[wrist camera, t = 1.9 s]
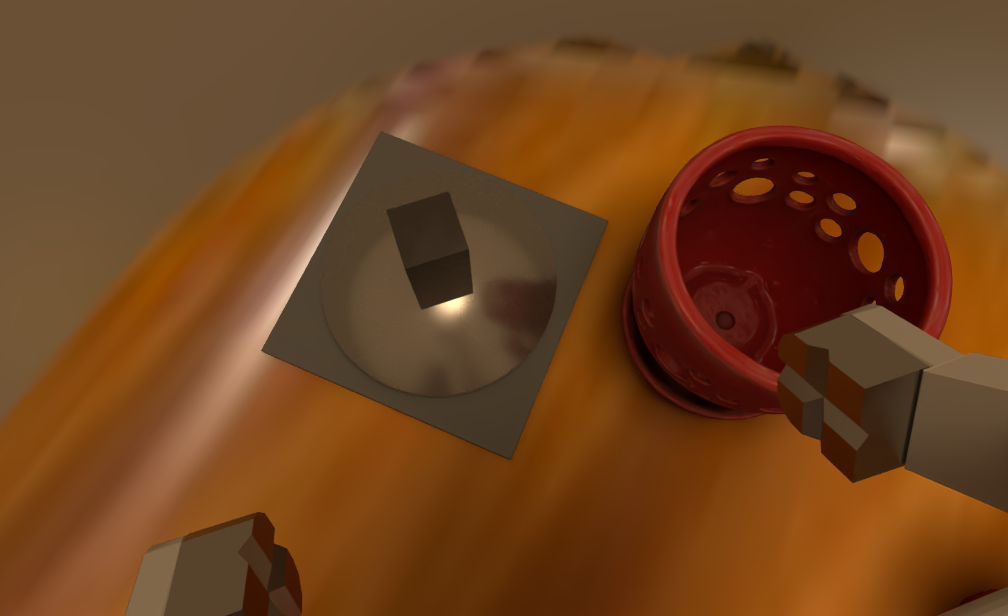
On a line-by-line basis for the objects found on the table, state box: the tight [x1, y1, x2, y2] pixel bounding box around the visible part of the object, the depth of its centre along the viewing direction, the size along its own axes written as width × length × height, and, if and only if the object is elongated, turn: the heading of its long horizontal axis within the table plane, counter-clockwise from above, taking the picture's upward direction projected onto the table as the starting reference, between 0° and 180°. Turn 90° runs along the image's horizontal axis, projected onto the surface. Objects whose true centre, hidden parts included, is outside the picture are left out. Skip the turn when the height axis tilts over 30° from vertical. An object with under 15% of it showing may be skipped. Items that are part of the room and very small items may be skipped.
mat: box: [261, 131, 608, 460], centre depth 38 cm, size 16×16×1 cm
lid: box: [321, 171, 557, 398], centre depth 34 cm, size 14×14×8 cm
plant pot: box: [622, 126, 952, 420], centre depth 32 cm, size 13×13×12 cm
